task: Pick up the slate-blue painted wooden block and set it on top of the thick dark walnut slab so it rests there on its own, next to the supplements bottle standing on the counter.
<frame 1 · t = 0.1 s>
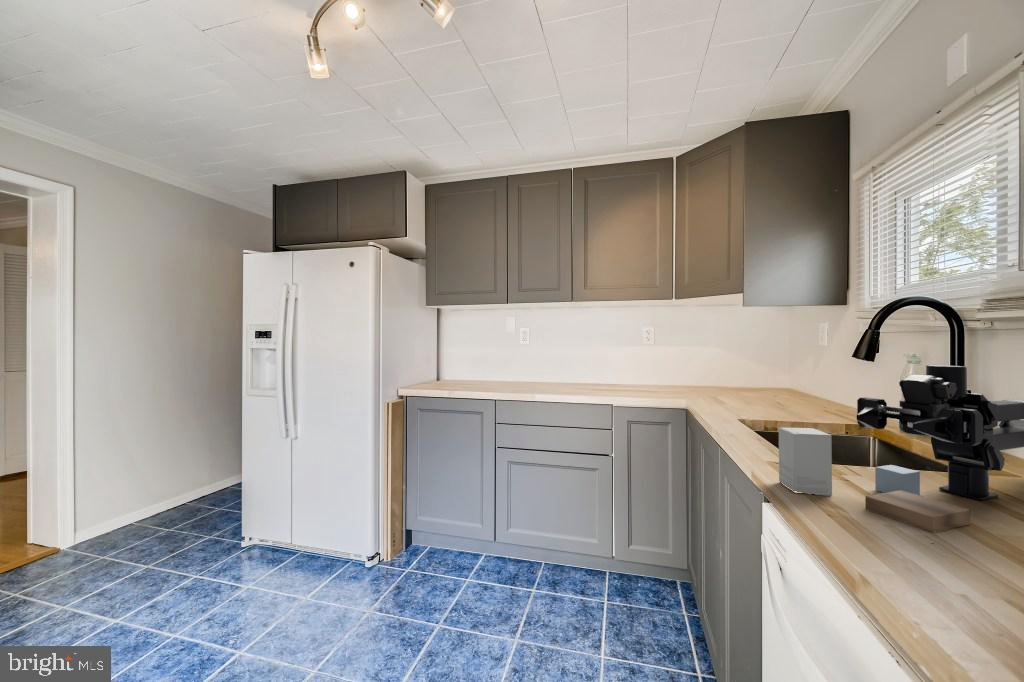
hand: (884, 421, 78), 17 cm above the countertop, tool horizontal, fingers open, 9 cm apart
supplement box: (804, 489, 89), on the countertop
walnut slab: (915, 516, 75), on the countertop
slate block: (897, 492, 86), on the countertop
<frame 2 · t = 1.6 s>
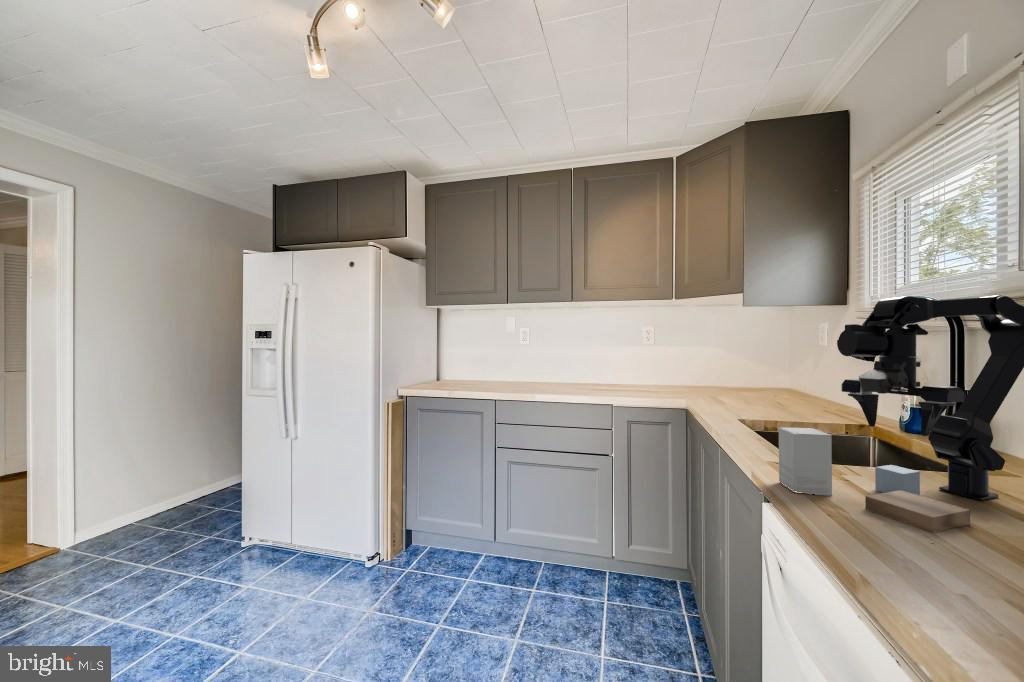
hand: (897, 430, 86), 13 cm above the countertop, tool pointing down, fingers open, 9 cm apart
nothing on the countertop moved.
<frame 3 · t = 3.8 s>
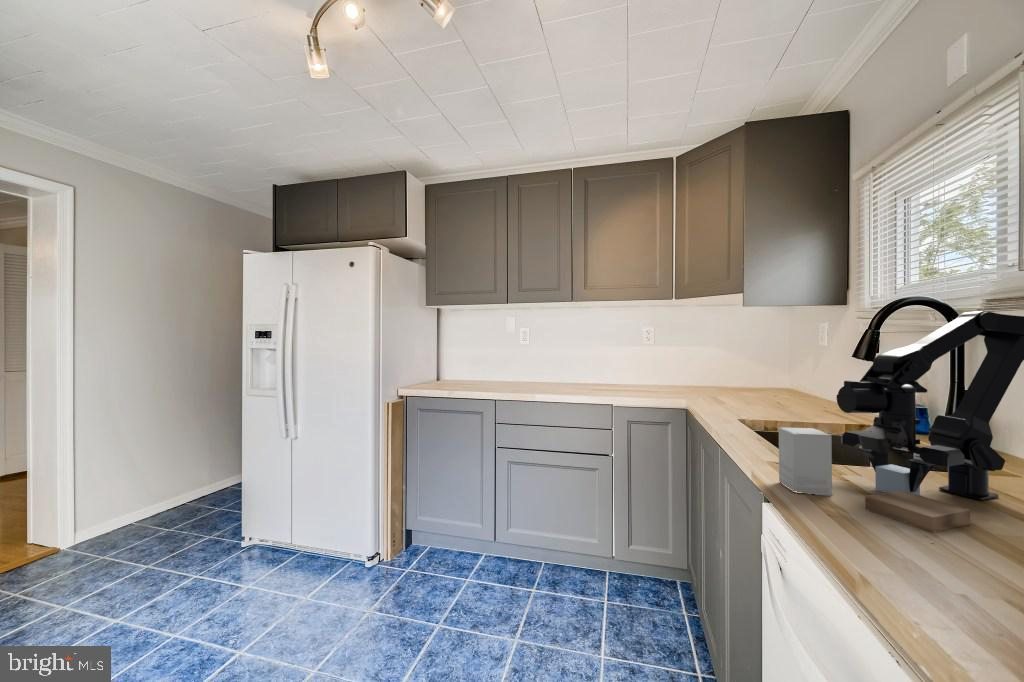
hand: (897, 487, 86), 1 cm above the countertop, tool pointing down, fingers closed on slate block, 5 cm apart
slate block: (897, 492, 86), on the countertop, touching gripper
everything else where it was.
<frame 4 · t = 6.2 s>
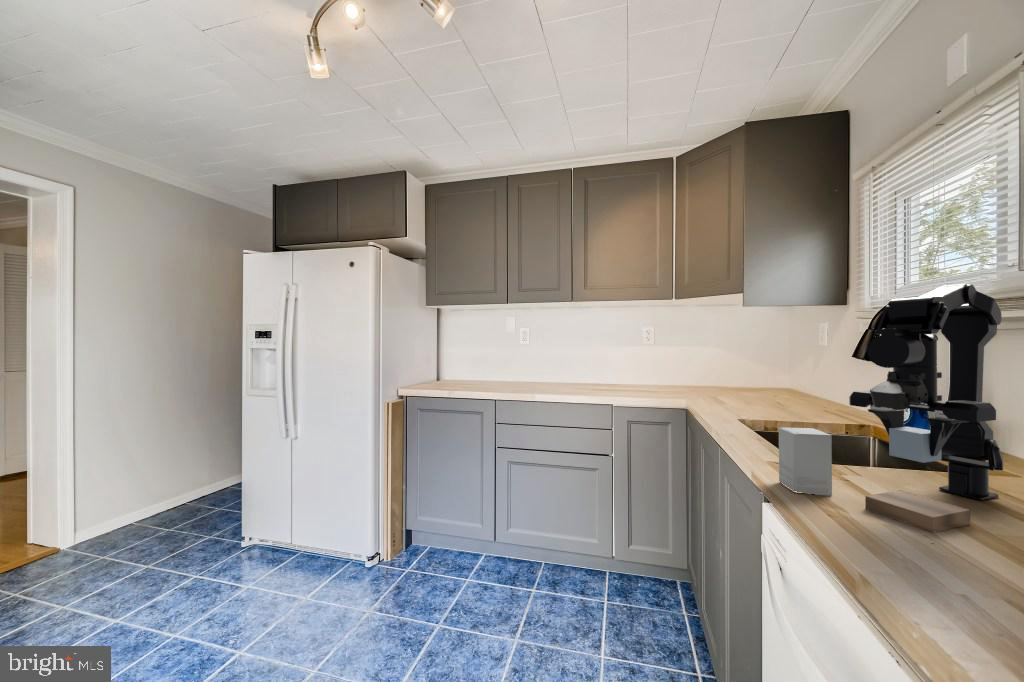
hand: (914, 452, 75), 12 cm above the countertop, tool pointing down, fingers closed on slate block, 5 cm apart
slate block: (914, 457, 75), point 11 cm above the countertop, touching gripper
everything else where it was.
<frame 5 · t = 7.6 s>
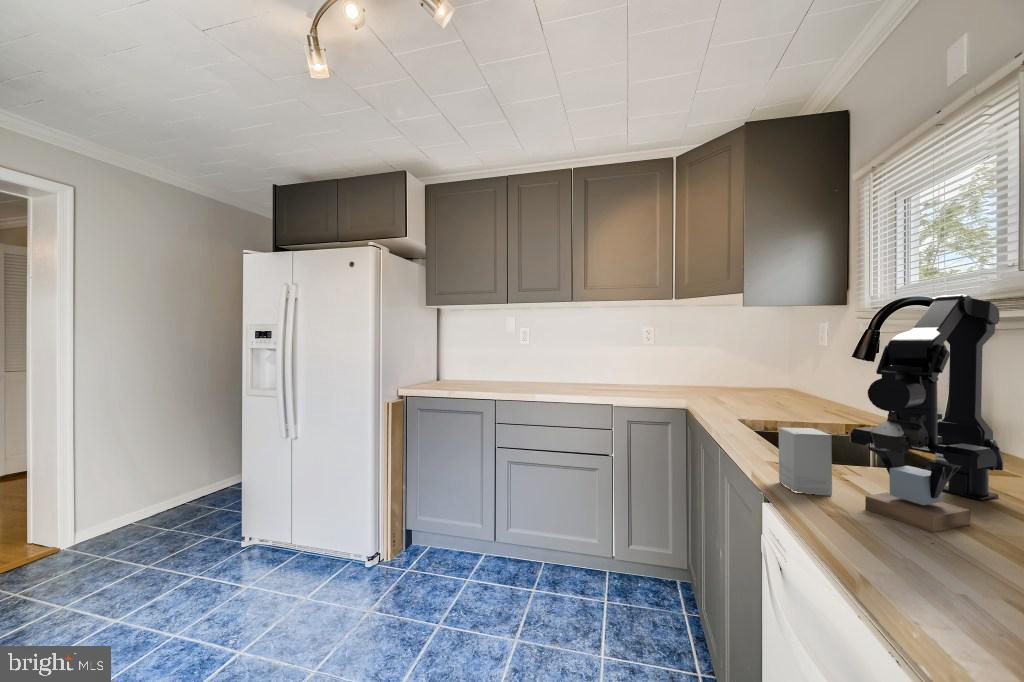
hand: (915, 492, 75), 4 cm above the countertop, tool pointing down, fingers closed on slate block, 5 cm apart
slate block: (915, 498, 75), point 3 cm above the countertop, touching gripper
everything else where it was.
when the fingers open (4 cm above the countertop, at t = 8.5 s): slate block stays where it is, resting on walnut slab.
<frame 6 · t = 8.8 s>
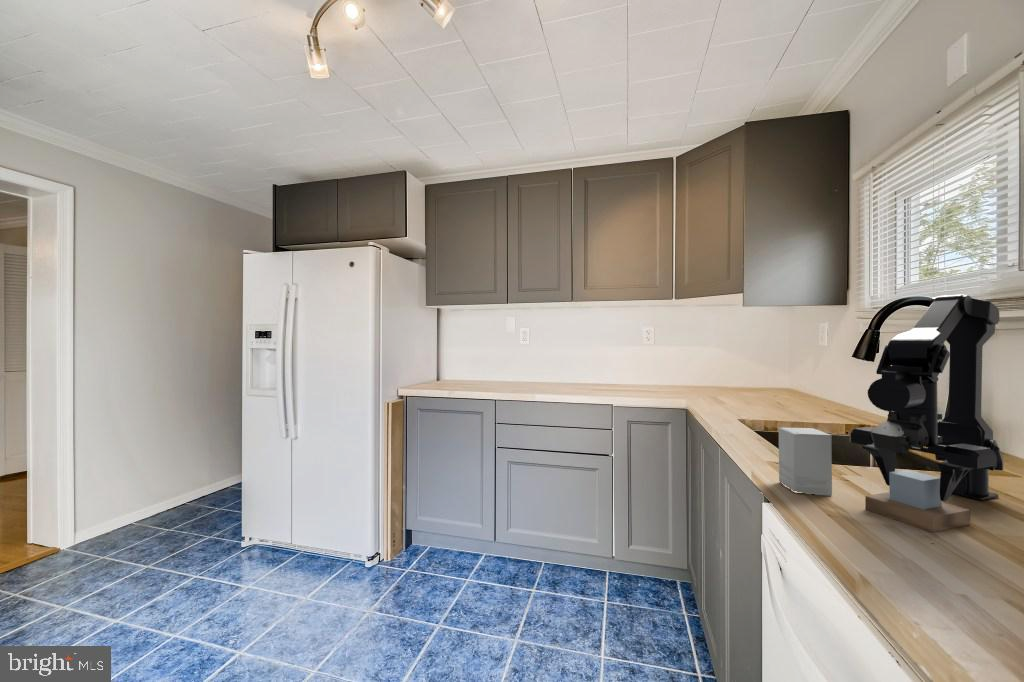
hand: (915, 492, 75), 4 cm above the countertop, tool pointing down, fingers open, 8 cm apart
slate block: (915, 502, 75), point 2 cm above the countertop, touching walnut slab
everything else where it was.
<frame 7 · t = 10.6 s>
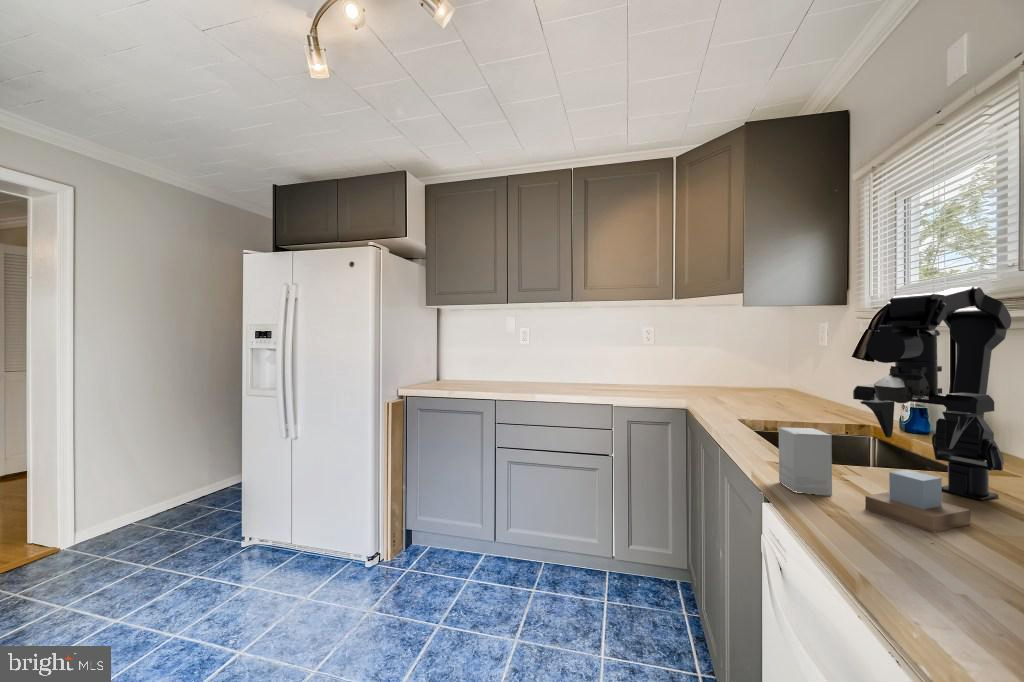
hand: (917, 442, 78), 13 cm above the countertop, tool pointing down, fingers open, 9 cm apart
nothing on the countertop moved.
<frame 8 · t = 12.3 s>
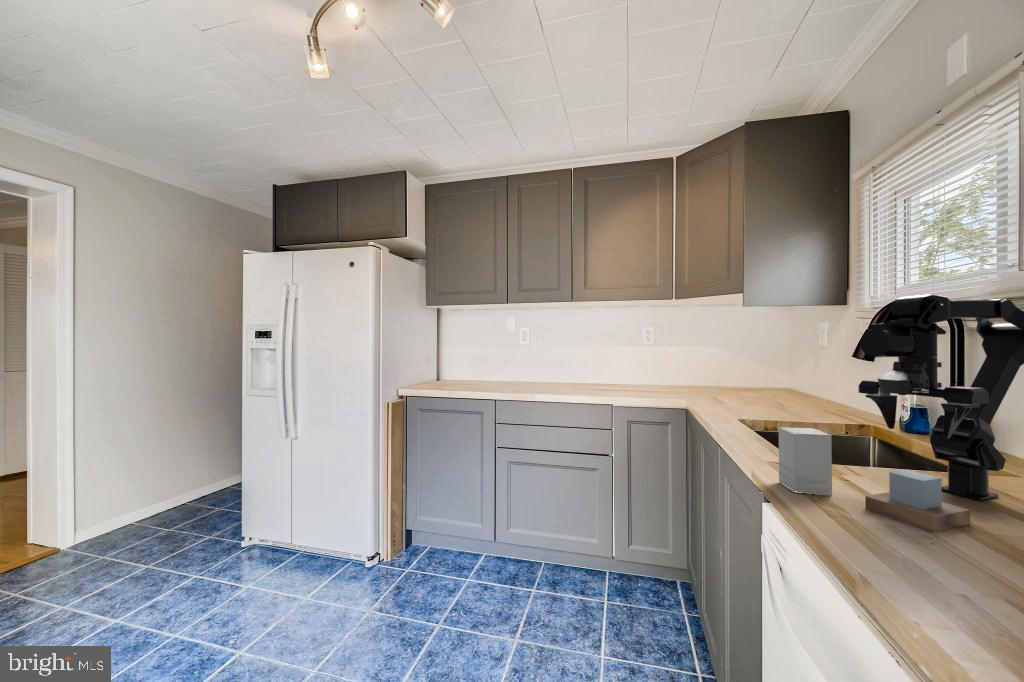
hand: (917, 433, 84), 13 cm above the countertop, tool pointing down, fingers open, 9 cm apart
nothing on the countertop moved.
at the end: slate block inside the target area on the walnut slab (0.0 cm from its centre), point 2.5 cm above the walnut slab's base; slate block tilted 0°; the gripper is holding nothing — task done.
